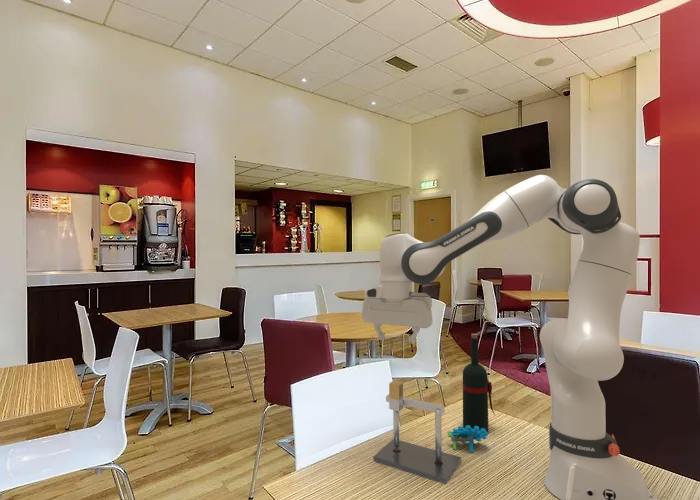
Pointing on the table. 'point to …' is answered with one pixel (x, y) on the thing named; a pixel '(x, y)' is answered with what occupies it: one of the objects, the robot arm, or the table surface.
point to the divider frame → (439, 412)
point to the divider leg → (396, 407)
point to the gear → (467, 435)
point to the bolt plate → (418, 460)
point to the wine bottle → (476, 391)
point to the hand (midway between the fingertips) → (396, 341)
